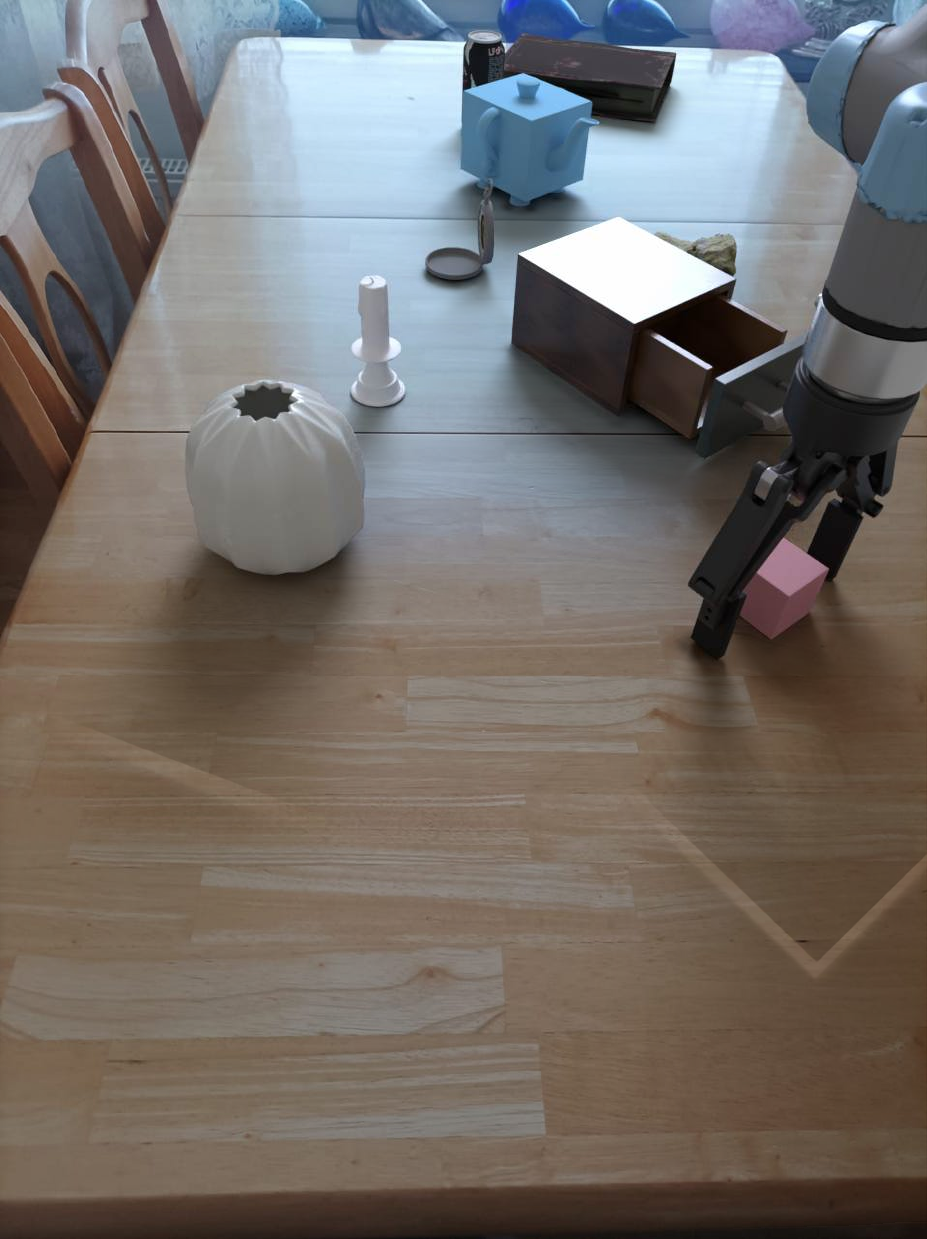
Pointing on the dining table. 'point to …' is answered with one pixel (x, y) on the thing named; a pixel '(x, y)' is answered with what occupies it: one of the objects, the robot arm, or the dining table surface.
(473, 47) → the beverage can
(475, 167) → the teapot
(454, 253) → the pocket watch
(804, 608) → the block
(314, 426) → the vase
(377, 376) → the candle
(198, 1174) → the dining table surface
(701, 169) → the dining table surface
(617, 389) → the cabinet
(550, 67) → the diary
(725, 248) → the rock
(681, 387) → the drawer
